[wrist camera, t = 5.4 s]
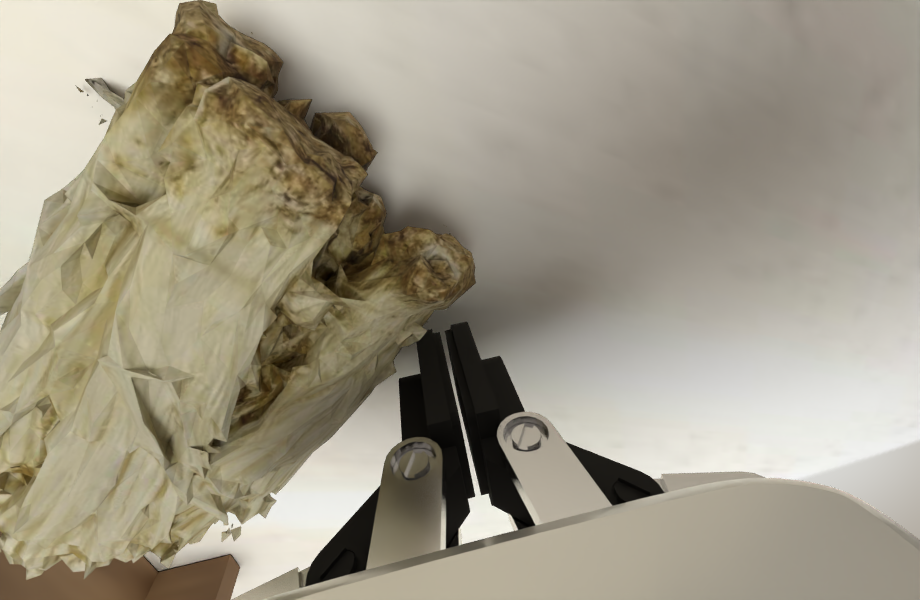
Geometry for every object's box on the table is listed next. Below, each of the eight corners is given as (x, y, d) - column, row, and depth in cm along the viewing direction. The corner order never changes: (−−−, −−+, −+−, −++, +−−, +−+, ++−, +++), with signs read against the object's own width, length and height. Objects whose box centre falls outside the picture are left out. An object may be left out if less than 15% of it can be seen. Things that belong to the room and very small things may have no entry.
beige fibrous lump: (170, -50, 9) (-85, -212, 4) (487, 223, 13) (548, 304, 8) (-55, 390, 12) (-326, 578, 8) (247, 494, 16) (192, 659, 12)
